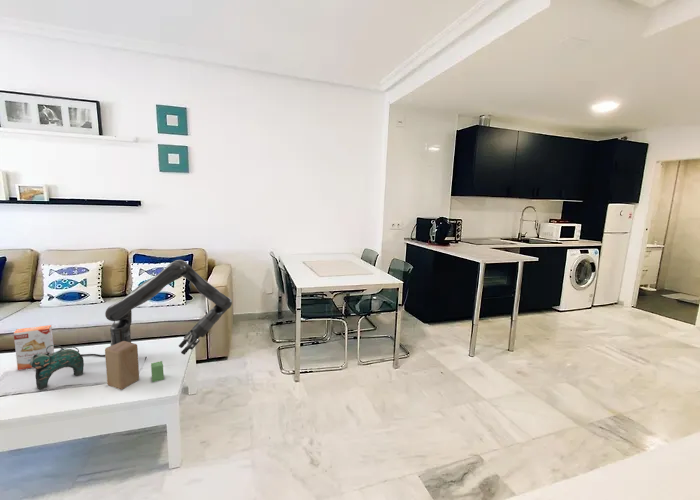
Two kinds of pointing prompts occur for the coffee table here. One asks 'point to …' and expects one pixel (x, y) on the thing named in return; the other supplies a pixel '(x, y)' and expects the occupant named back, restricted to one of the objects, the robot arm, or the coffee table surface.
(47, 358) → the ceramic cat
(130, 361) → the wooden block
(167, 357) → the coffee table surface
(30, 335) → the cracker box
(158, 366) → the green block
